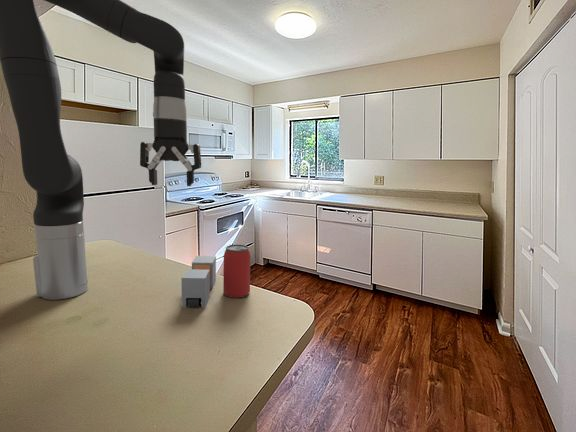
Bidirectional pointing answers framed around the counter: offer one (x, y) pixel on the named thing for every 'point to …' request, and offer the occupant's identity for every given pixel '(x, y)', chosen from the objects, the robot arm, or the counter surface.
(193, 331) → the counter surface
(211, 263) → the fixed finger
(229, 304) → the counter surface
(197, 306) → the rail
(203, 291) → the grey block
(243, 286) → the beer can
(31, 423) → the counter surface
